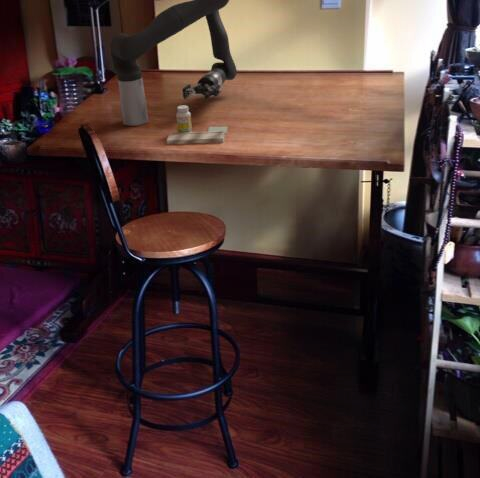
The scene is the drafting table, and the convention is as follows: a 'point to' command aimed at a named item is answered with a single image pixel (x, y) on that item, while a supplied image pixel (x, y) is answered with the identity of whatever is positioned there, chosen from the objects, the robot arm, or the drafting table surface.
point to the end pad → (218, 129)
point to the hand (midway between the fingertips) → (194, 96)
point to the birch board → (196, 137)
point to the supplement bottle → (183, 119)
